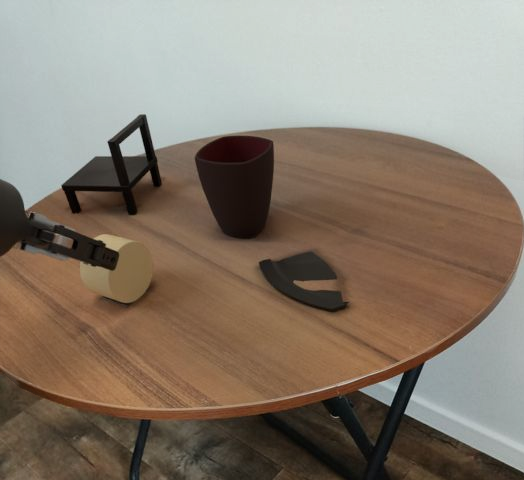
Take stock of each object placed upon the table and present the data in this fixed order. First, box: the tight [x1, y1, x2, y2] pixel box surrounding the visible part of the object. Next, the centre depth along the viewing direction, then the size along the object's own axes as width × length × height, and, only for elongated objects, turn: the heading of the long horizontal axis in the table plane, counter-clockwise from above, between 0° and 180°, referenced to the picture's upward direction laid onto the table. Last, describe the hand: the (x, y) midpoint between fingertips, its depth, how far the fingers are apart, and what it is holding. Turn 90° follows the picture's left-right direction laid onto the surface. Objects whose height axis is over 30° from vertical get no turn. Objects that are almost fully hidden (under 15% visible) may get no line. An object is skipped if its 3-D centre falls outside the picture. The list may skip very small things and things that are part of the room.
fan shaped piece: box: [258, 251, 350, 313], centre depth 64 cm, size 8×14×2 cm, turn 21°
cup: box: [194, 135, 275, 239], centre depth 76 cm, size 10×14×12 cm
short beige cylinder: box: [79, 233, 154, 308], centre depth 65 cm, size 5×8×8 cm, turn 149°
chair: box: [60, 113, 163, 216], centre depth 87 cm, size 12×12×12 cm
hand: (88, 253), depth 60 cm, fingers open, 8 cm apart
